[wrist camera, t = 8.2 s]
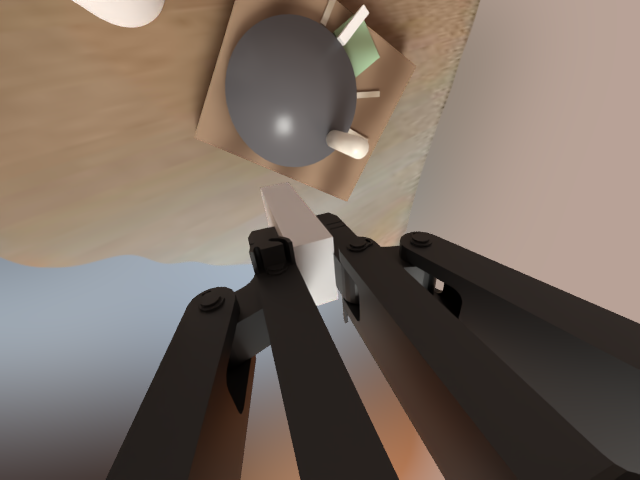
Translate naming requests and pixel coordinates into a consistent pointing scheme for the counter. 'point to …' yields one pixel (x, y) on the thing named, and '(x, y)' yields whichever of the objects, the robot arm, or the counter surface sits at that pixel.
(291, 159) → the gray pegged oval disc
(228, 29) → the board
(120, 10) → the mug
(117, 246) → the counter surface
